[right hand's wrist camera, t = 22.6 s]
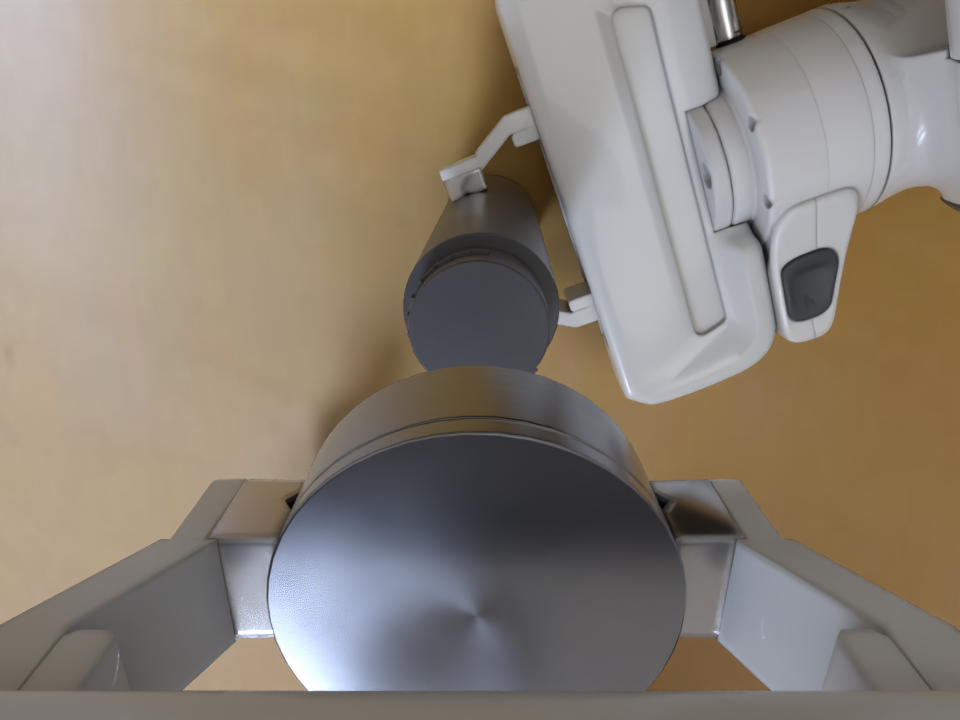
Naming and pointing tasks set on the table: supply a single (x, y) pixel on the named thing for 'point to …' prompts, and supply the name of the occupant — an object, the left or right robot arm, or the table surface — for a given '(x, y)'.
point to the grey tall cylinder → (483, 285)
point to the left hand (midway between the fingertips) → (471, 251)
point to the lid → (476, 546)
